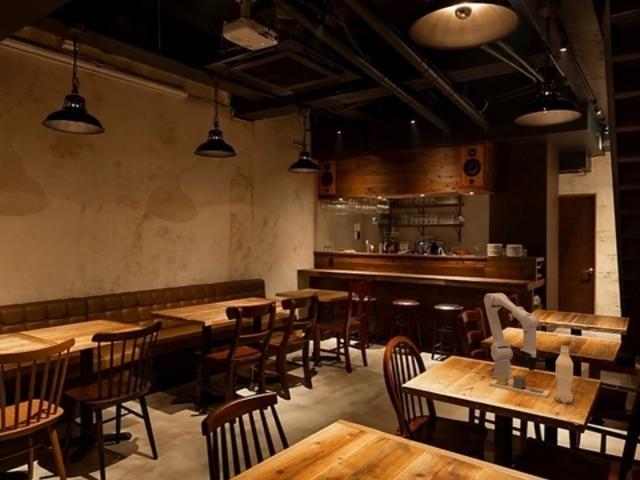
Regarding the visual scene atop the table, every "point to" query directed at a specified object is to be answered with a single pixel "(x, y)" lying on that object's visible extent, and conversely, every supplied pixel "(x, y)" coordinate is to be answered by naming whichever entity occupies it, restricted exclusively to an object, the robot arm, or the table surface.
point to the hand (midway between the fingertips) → (529, 368)
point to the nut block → (519, 382)
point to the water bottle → (564, 376)
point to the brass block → (502, 379)
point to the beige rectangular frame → (526, 391)
